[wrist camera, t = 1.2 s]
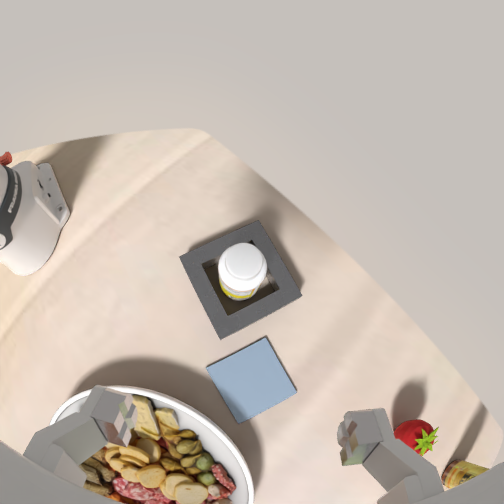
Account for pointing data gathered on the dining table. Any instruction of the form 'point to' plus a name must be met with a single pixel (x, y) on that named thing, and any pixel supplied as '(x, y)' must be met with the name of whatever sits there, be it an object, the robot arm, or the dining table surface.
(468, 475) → the sauce bottle
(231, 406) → the pad
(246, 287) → the supplement bottle
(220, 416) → the dining table surface
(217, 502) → the bowl
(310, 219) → the dining table surface
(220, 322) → the socket housing
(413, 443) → the strawberry
